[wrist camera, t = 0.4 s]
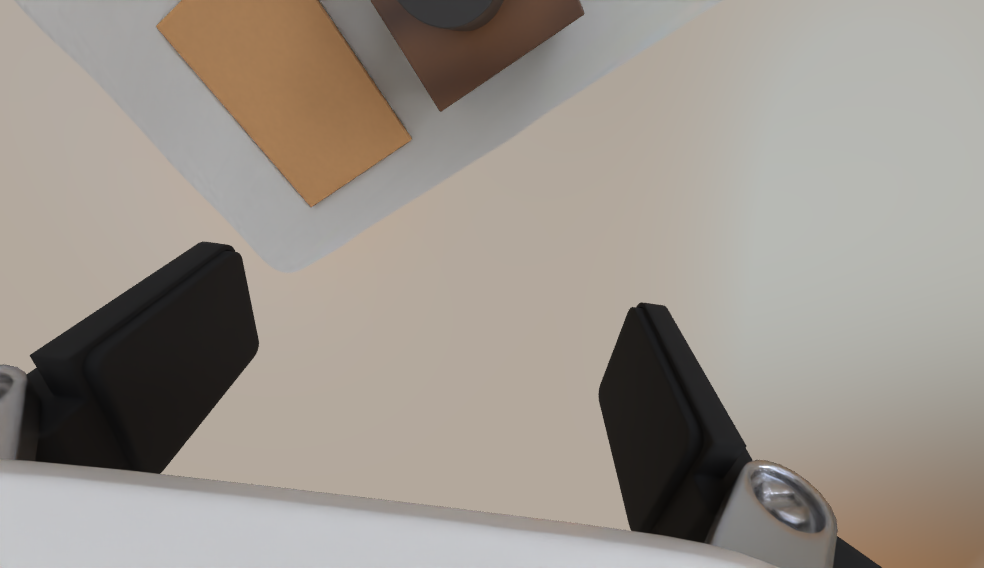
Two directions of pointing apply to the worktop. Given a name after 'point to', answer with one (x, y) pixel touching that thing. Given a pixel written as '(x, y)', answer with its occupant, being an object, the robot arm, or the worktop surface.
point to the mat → (289, 87)
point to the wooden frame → (474, 43)
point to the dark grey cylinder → (453, 12)
